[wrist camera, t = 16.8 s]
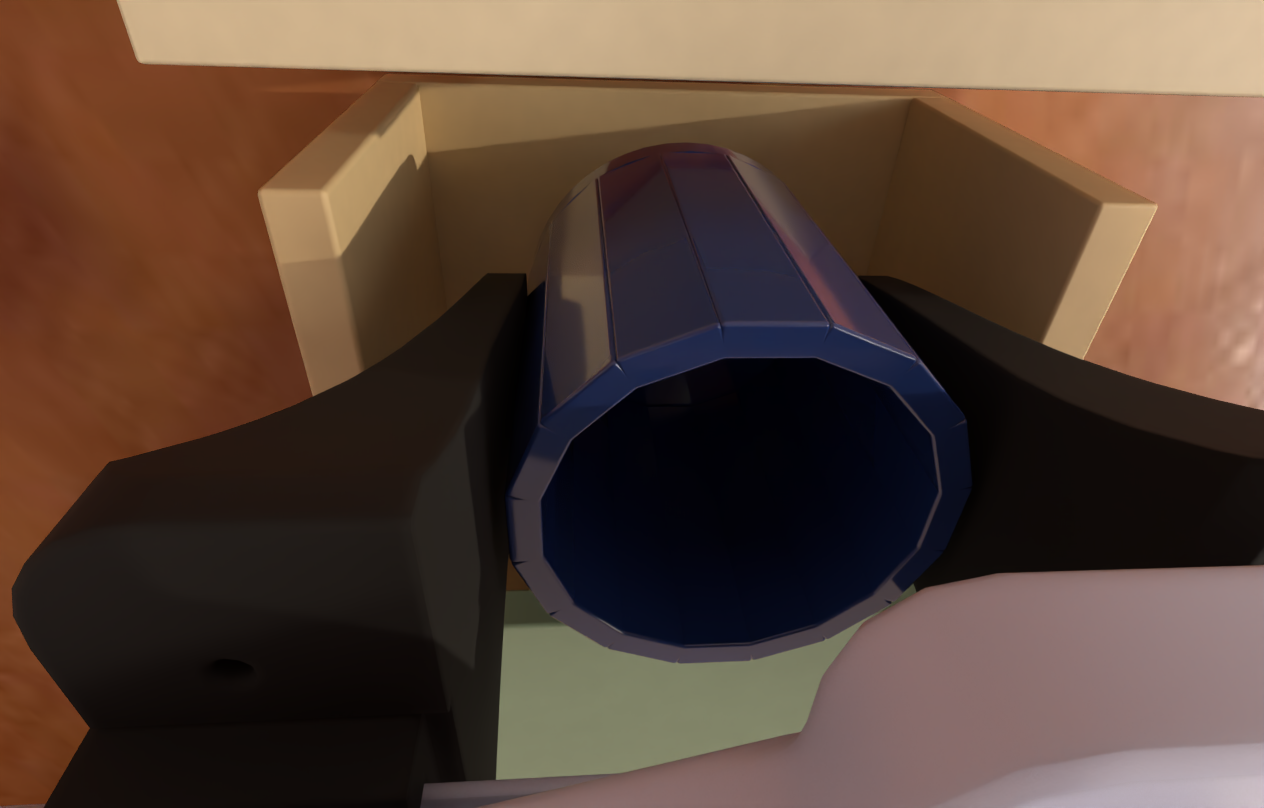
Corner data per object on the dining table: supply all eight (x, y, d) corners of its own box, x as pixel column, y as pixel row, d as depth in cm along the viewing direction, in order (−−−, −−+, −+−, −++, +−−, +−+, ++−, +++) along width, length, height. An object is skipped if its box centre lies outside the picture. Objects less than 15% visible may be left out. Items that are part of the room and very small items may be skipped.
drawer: (242, -539, 9) (-338, -1324, 3) (1116, -453, 10) (1856, -938, 4) (424, 488, 20) (363, 733, 14) (845, 480, 21) (953, 706, 15)
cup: (524, 137, 11) (488, 322, 6) (844, 144, 11) (1047, 323, 7) (537, 405, 14) (518, 671, 9) (789, 403, 14) (901, 657, 10)
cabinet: (384, 337, 18) (255, 636, 11) (890, 337, 19) (1091, 608, 12) (447, 670, 27) (400, 965, 19) (796, 657, 28) (879, 930, 20)
